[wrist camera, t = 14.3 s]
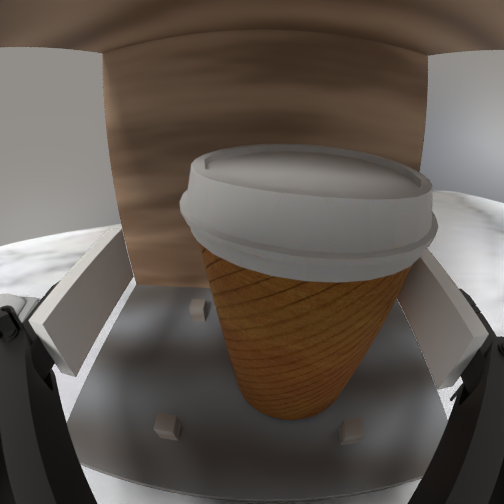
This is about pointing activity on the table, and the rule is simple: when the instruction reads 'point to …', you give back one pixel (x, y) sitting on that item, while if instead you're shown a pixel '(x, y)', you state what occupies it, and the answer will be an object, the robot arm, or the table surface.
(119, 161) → the walnut overhang shelf
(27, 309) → the office telephone
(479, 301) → the table surface
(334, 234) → the disposable coffee cup
